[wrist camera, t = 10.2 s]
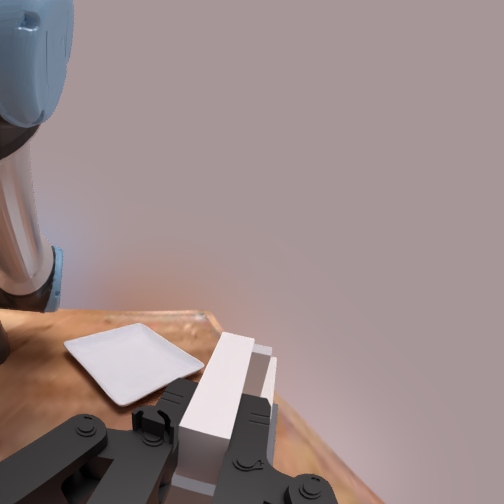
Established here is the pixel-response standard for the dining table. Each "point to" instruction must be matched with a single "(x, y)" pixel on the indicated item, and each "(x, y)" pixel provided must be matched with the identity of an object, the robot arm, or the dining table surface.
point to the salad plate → (131, 361)
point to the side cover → (261, 373)
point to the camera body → (199, 493)
